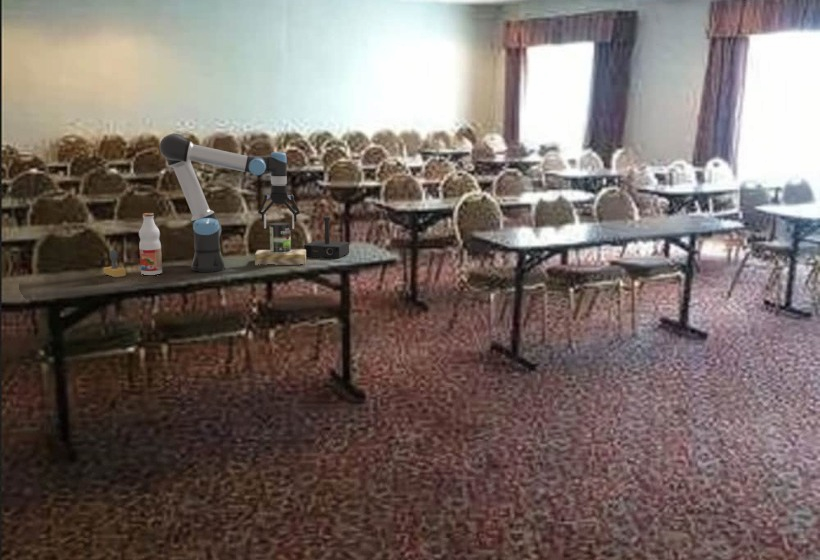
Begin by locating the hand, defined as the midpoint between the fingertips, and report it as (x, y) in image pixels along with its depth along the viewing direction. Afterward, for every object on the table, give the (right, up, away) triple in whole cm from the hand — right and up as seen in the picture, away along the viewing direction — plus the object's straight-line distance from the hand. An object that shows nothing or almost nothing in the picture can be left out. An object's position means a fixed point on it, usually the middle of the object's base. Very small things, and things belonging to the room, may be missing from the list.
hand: (279, 228), depth 426 cm
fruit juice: (-54, -23, -26) cm, 65 cm away
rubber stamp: (-70, -24, -30) cm, 80 cm away
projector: (+21, -13, +22) cm, 33 cm away
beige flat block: (0, -16, +4) cm, 17 cm away
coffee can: (0, -12, +3) cm, 12 cm away
